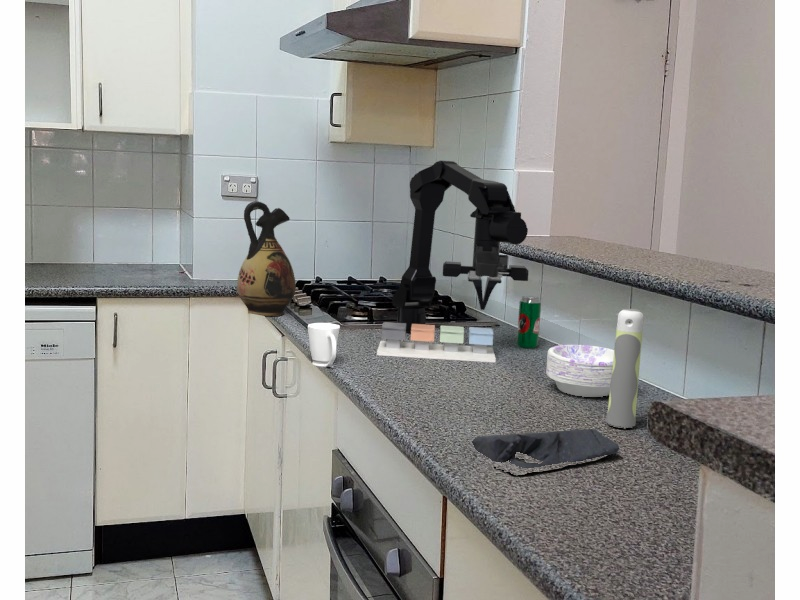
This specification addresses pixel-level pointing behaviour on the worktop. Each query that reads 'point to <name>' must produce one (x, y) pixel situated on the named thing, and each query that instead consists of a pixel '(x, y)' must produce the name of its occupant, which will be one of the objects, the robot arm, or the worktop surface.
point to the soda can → (528, 322)
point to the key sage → (451, 334)
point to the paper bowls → (581, 369)
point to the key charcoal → (393, 331)
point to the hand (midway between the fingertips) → (482, 309)
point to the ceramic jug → (265, 266)
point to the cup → (323, 343)
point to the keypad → (436, 351)
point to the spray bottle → (625, 369)
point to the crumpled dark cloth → (546, 446)
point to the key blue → (480, 336)
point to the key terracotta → (422, 332)
